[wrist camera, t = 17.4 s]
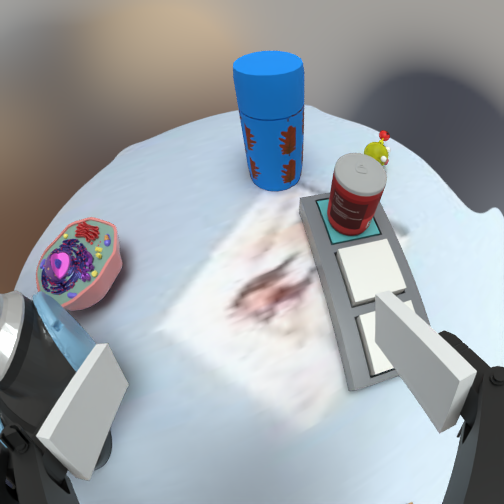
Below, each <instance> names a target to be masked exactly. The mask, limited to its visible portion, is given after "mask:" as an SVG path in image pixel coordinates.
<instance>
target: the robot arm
mask: <svg viewBox="0 0 504 504" xmlns="http://www.w3.org/2000/svg"><path fill="white" fill-rule="evenodd" d="M375 343H376V344H377V345H378V347H379V348H380V349H381V351H382V352H383V353H384V355H385V356H386V357H387V359H388V360H389V362H390V363H391V364H392V366H393V367H394V368H395V370H396V371H397V373H398V374H399V375H400V377H401V378H402V380H403V381H404V382H405V384H406V385H407V387H408V388H409V390H410V391H411V392H412V394H413V395H414V397H415V398H416V400H417V401H418V402H419V404H420V405H421V407H422V408H423V410H424V411H425V413H426V414H427V416H428V417H429V419H430V420H431V422H432V423H433V425H434V426H435V428H436V429H437V431H438V432H439V433H441V432H443V431H445V430H447V429H449V428H450V427H452V426H454V425H456V423H457V420H458V418H459V416H460V415H461V416H462V417H463V419H464V420H465V421H464V423H463V425H462V427H461V429H460V431H459V433H458V435H457V437H460V441H459V446H458V451H457V455H456V459H455V463H454V467H453V471H452V474H451V478H450V481H449V484H448V488H447V491H446V494H445V497H444V500H443V502H442V504H504V367H500V366H496V367H492V368H491V367H489V366H488V365H487V364H486V363H485V362H484V361H483V360H482V359H481V358H480V357H479V356H478V355H477V354H476V353H474V352H473V351H472V350H471V349H470V348H468V346H467V345H466V344H465V343H463V342H462V341H461V340H460V339H459V338H458V337H457V336H456V335H454V334H452V333H449V332H447V331H442V332H440V333H437V332H436V331H435V330H434V329H432V328H431V327H430V326H429V325H428V324H427V323H426V322H425V321H424V320H423V319H421V318H420V317H419V316H418V315H417V314H416V313H415V312H414V311H412V310H411V309H410V308H409V307H408V306H407V305H406V304H405V303H403V302H402V301H401V300H400V299H399V298H398V297H396V296H395V295H394V294H393V293H392V292H391V291H389V290H388V291H385V292H381V293H378V294H375ZM128 385H129V384H128V382H127V380H126V378H125V376H124V374H123V372H122V371H121V369H120V367H119V365H118V363H117V361H116V359H115V357H114V355H113V353H112V351H111V348H110V346H109V344H108V343H104V344H96V343H95V342H94V341H93V339H92V338H91V337H90V336H89V335H88V333H87V332H86V331H85V330H84V329H83V328H82V327H81V325H80V324H79V323H78V322H77V321H76V320H75V319H74V318H73V317H72V316H71V315H70V314H69V313H68V312H67V311H66V310H65V309H64V308H63V307H62V306H61V305H60V304H59V303H58V302H57V301H56V300H54V299H53V298H52V297H51V296H50V295H48V294H45V293H44V292H42V291H40V292H38V293H37V294H35V295H33V301H32V300H30V299H28V298H27V297H25V296H24V295H23V294H21V293H20V292H18V291H12V292H9V293H6V294H0V504H79V501H78V499H77V496H76V494H75V491H74V489H73V486H72V484H71V481H70V479H69V478H68V476H67V475H66V473H67V471H69V472H70V473H71V474H73V475H74V476H75V477H76V478H79V479H83V480H87V481H90V479H91V476H92V473H93V471H94V470H96V469H98V468H100V467H102V466H103V465H104V464H105V463H106V462H107V460H108V458H109V456H110V453H111V446H112V441H111V433H110V427H111V425H112V422H113V420H114V418H115V415H116V413H117V410H118V408H119V406H120V403H121V401H122V399H123V397H124V394H125V392H126V390H127V387H128ZM460 435H461V436H460ZM6 479H7V480H8V481H10V482H11V483H12V484H13V487H12V488H10V487H9V486H8V485H7V484H6V483H5V480H6Z"/></svg>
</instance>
